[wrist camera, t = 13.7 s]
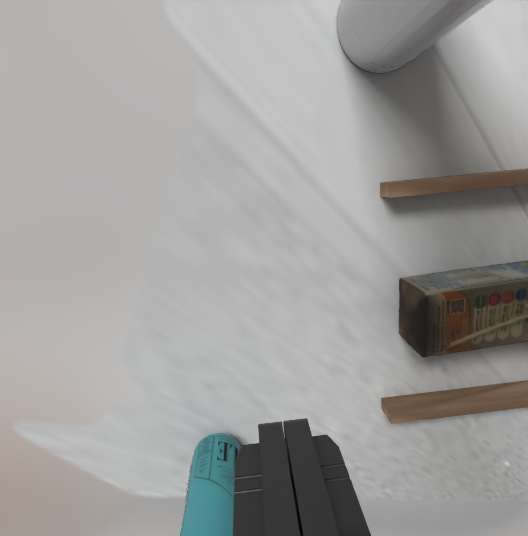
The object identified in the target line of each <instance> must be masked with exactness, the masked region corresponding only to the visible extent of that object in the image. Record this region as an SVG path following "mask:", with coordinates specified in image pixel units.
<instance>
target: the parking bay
mask: <svg viewBox="0 0 528 536" xmlns="http://www.w3.org/2000/svg"><path fill="white" fill-rule="evenodd" d="M526 184H528V169H519V170H508V171H498V172H487V173H477V174H467V175H456V176H446V177H436V178H425V179H415V180H404V181H394V182H384V183H380V197H390V198H394V197H404V196H414V195H424V194H435V193H445V192H455V191H465V190H475V189H486V188H496V187H506V186H516V185H526ZM523 407H528V381H520V382H512V383H504V384H495V385H487V386H479V387H470V388H462V389H454V390H445V391H437V392H429V393H420V394H412V395H404V396H395V397H387V398H382V409H383V411H384V413H385V414H386V416H387V418H388V419H389V421H390V422H391V424H393V423H401V422H409V421H417V420H425V419H433V418H442V417H450V416H458V415H466V414H474V413H482V412H490V411H498V410H507V409H515V408H523Z"/></svg>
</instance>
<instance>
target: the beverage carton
mask: <svg viewBox="0 0 528 536" xmlns="http://www.w3.org/2000/svg"><path fill="white" fill-rule="evenodd" d="M399 291H400V308H399V334H400V335H401V336H402V337H403V338H404V339H405V340H406V341H407V342H408V344H410V345H411V346H412V347H413V349H415V351H417V352H418V353H419V354H420V355H421V356H422V357H428V356H437V355H443V354H449V353H456V352H462V351H469V350H476V349H481V348H487V347H494V346H500V345H507V344H514V343H520V342H527V341H528V261H522V262H514V263H506V264H499V265H492V266H484V267H477V268H468V269H461V270H454V271H446V272H439V273H432V274H426V275H419V276H412V277H407V278H400V280H399Z"/></svg>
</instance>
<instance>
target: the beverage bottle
mask: <svg viewBox="0 0 528 536" xmlns="http://www.w3.org/2000/svg"><path fill="white" fill-rule="evenodd" d="M240 449H241V446H240V444H239V443H238V441H237V440H236V439H234V438H233V437H231V436H229V435H226V434H221V433H217V434H212V435H209V436H207V437H205V438H203V439H202V440H201V441H200V442H199V444H198V445H197V447H196V449H195V451H194V456H193V462H192V464H191V465H192V468H191V466H190V470H191V473H190V476H189V477H190V480H189V479H188V480H189V483H188V484H189V486H188V492H187V494H186V495H187V498H186V506H185V511H184V517H183V522H182V528H181V534H180V536H233V513H234V480H235V459H236V457H237V455H238V453H239V451H240Z"/></svg>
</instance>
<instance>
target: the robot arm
mask: <svg viewBox="0 0 528 536" xmlns="http://www.w3.org/2000/svg"><path fill="white" fill-rule="evenodd" d="M491 1H493V0H341V3H340V6H339V9H338V16H337V31H338V36H339V41H340V43H341V46H342V48H343V50H344V52H345V53H346V55H347V56H348V58H349V59H350V60H351V61H352V62H353V63H354V64H355V65H356V66H358V67H360V68H362V69H363V70H366V71H369V72H373V73H386V72H391V71H394V70H396V69H398V68H400V67H402V66H403V65H405V64H406V63H408V62H410V61H411V60H413V58H415V57H416V56H417V55H419V54H420V53H421V52H423V51H424V50H426V49H427V48H429V47H430V46H431V45H433V44H434V43H435V42H437V41H438V40H439V39H441V38H442V37H444V36H445V35H446V34H448V33H449V32H450V31H452V30H453V29H454V28H456V27H457V26H459V25H460V24H461V23H463V22H464V21H465V20H467V19H468V18H470V17H471V16H472V15H474V14H475V13H476V12H478V11H479V10H480V9H482V8H483V7H485V6H486V5H487V4H489V3H490V2H491ZM283 423H284V433H283V427H282V422H273V423H265V424H258V428H259V443H257V444H249V445H242V447H241V449H240V451H239V453H238V455H237V457H236V459H235V480H234V513H233V536H371V534H370V532H369V529H368V526H367V523H366V521H365V518H364V515H363V513H362V510H361V507H360V504H359V501H358V499H357V496H356V493H355V490H354V488H353V485H352V482H351V480H350V477H349V474H348V471H347V468H346V466H345V463H344V460H343V457H342V455H341V452H340V449H339V447H338V446H337V445H336V444H335V443H334V442H333V441H332V439H331V438H330V437H329V436H328V435H321V436H313V437H312V435H311V431H310V427H309V424H308V420H307V418H305V419H297V420H289V421H283ZM284 435H285V439H284Z"/></svg>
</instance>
